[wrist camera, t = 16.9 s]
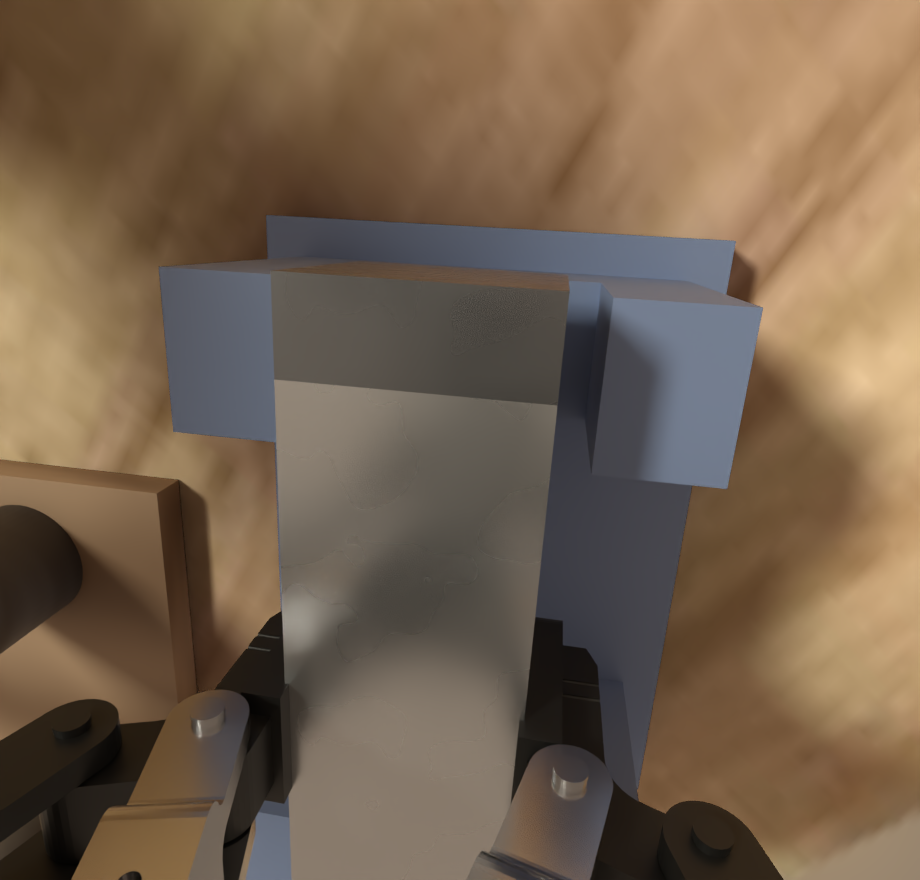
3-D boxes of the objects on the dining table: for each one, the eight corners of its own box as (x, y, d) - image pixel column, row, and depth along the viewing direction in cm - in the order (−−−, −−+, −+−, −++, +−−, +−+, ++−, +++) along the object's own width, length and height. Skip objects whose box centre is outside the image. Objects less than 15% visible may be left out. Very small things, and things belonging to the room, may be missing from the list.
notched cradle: (284, 216, 18) (98, 202, 11) (724, 240, 17) (848, 243, 9) (299, 707, 23) (180, 918, 16) (633, 760, 22) (668, 1020, 15)
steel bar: (359, 260, 12) (270, 270, 9) (567, 274, 12) (569, 291, 8) (355, 873, 17) (297, 1049, 14) (502, 901, 17) (484, 1093, 13)
